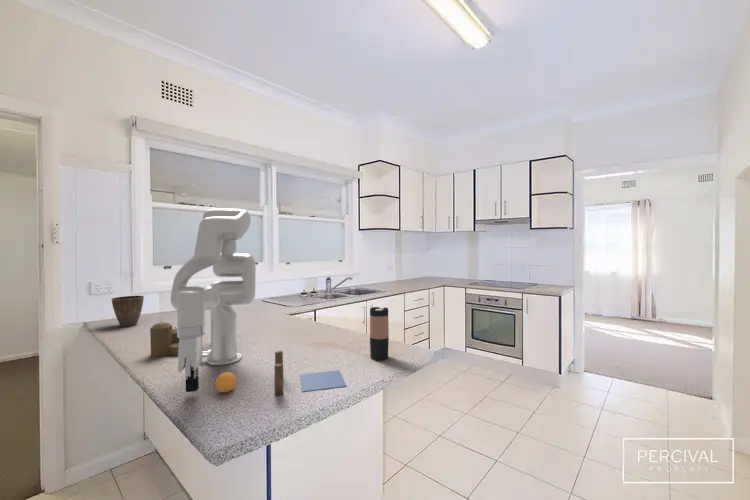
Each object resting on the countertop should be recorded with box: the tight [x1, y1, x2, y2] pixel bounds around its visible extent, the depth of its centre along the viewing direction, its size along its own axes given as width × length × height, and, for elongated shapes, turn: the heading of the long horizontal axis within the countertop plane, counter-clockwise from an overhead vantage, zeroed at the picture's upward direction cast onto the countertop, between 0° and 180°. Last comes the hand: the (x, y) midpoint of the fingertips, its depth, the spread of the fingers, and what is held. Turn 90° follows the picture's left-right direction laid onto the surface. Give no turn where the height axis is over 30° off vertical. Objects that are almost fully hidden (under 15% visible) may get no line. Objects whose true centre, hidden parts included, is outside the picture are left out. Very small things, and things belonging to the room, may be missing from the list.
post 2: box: [273, 363, 284, 397], centre depth 103 cm, size 3×3×9 cm
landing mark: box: [299, 369, 347, 393], centre depth 113 cm, size 14×14×1 cm
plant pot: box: [111, 295, 145, 328], centre depth 191 cm, size 15×15×16 cm
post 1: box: [274, 350, 284, 365], centre depth 116 cm, size 3×3×9 cm
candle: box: [149, 318, 180, 358], centre depth 143 cm, size 14×14×15 cm
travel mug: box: [369, 306, 390, 362], centre depth 135 cm, size 8×8×20 cm
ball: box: [215, 371, 237, 394], centre depth 105 cm, size 6×6×6 cm
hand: (192, 390), depth 102 cm, fingers closed
